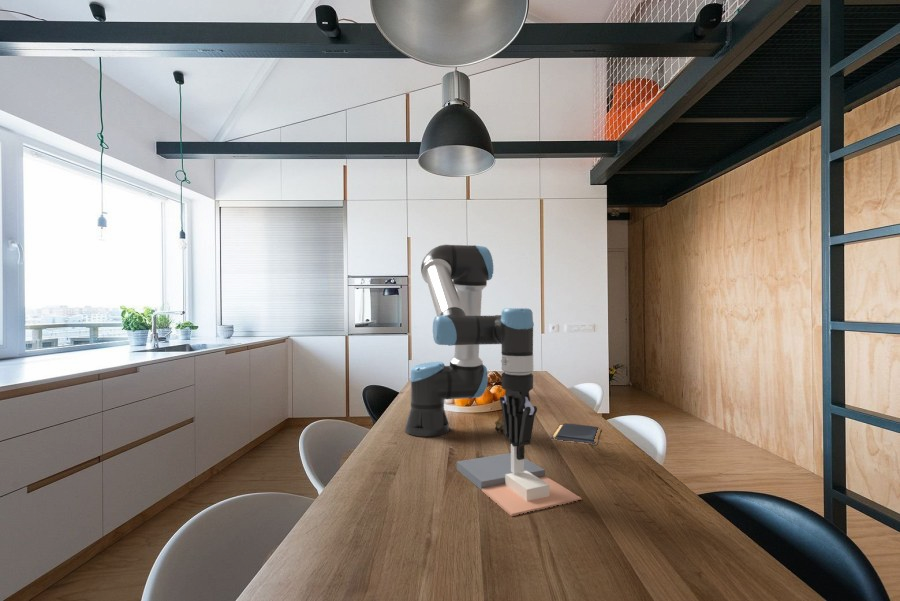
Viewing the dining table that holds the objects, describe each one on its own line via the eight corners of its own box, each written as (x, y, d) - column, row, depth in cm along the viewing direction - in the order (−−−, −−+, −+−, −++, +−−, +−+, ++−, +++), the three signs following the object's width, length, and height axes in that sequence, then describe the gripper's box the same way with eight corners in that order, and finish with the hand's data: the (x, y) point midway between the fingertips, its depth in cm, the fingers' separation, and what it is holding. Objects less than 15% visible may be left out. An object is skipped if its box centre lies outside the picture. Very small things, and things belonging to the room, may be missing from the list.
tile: (505, 485, 98) (505, 474, 98) (526, 480, 100) (526, 470, 100) (526, 501, 89) (526, 489, 90) (549, 496, 92) (549, 484, 92)
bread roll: (521, 446, 138) (531, 424, 138) (494, 433, 138) (504, 411, 139) (517, 437, 148) (526, 417, 148) (491, 424, 148) (500, 404, 148)
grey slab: (456, 469, 109) (456, 461, 109) (514, 459, 116) (514, 452, 116) (481, 490, 96) (481, 481, 96) (545, 477, 103) (545, 469, 103)
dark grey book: (596, 441, 127) (547, 435, 134) (596, 448, 127) (547, 441, 134) (603, 425, 145) (559, 420, 152) (603, 431, 145) (559, 425, 152)
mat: (481, 490, 96) (481, 488, 96) (545, 478, 103) (545, 476, 103) (511, 516, 84) (511, 513, 84) (581, 500, 91) (581, 498, 91)
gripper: (490, 369, 103) (490, 464, 103) (518, 377, 91) (519, 484, 91) (515, 367, 106) (516, 459, 106) (546, 375, 94) (547, 479, 94)
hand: (517, 471), depth 98 cm, fingers closed
